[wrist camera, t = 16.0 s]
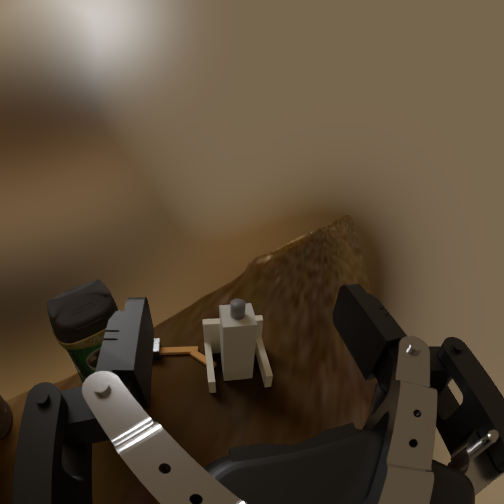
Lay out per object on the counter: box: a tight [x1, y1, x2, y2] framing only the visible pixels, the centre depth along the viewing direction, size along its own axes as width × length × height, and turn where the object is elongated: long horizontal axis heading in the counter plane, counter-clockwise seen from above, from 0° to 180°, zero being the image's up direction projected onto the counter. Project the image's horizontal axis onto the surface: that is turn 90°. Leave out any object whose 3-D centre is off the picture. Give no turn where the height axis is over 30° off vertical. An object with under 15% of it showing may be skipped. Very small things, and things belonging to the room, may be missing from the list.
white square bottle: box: [219, 299, 257, 381], centre depth 40 cm, size 4×4×14 cm
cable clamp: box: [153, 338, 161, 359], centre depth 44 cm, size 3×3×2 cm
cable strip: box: [160, 346, 217, 368], centre depth 44 cm, size 10×5×1 cm, turn 101°
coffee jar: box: [47, 280, 119, 383], centre depth 33 cm, size 10×8×19 cm
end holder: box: [203, 315, 273, 393], centre depth 42 cm, size 10×9×7 cm
